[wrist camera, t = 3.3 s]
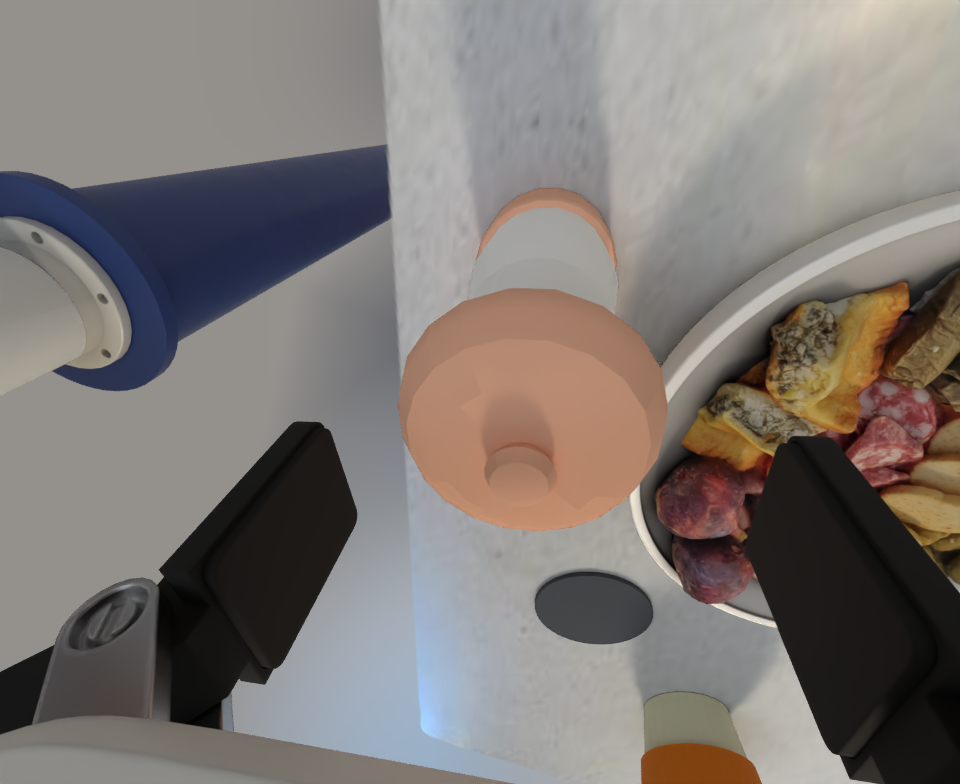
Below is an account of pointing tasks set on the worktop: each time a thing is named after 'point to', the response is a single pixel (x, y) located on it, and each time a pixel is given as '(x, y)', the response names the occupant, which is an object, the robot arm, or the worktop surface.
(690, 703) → the reusable coffee cup
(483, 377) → the salt shaker
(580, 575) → the coaster
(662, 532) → the bowl
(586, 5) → the worktop surface
